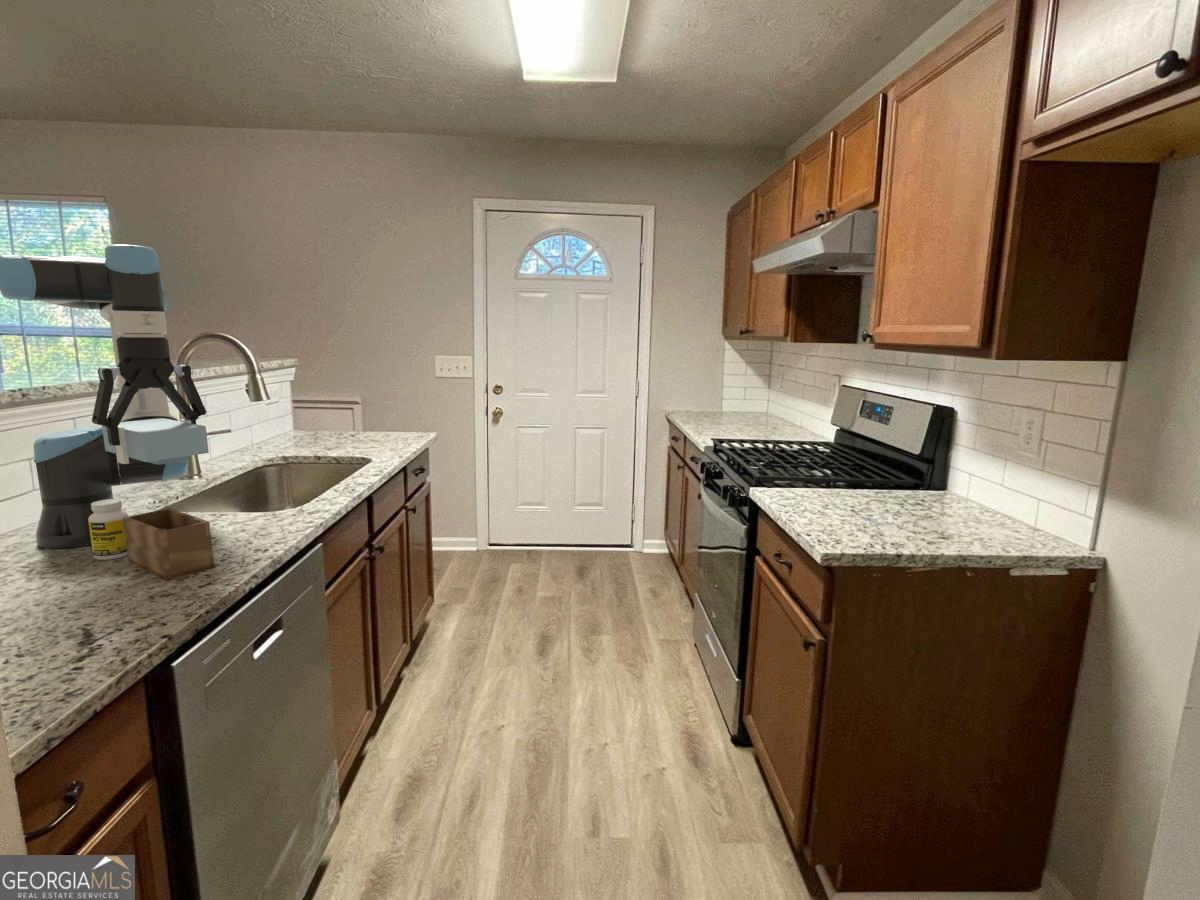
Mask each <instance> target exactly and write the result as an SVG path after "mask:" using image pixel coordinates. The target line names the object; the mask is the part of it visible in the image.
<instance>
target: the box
mask: <svg viewBox="0 0 1200 900" xmlns="http://www.w3.org/2000/svg"><path fill="white" fill-rule="evenodd" d="M123 525H124V532H125V539H126V546H127V553H128V555H127V560H128V563H129V564H131V565H133V566H135V567H137V568H140V569H142V570H144V571H146V572H147V573H150V574H152V575H154V576H157V577H159V578H160V579H163V580H165V581H167V582H169V581H171V580H175V579H179V578H182V577H186V576H189V575H191V574H196V573H199V572H202V571H205V570H209V569H213V568H215V560H214V559H215V558H214V552H213V541H212V534H211V525H210V521H208V520H206V519H203V518H199V517H197V516H194V515H191V514H188V513H185V512H184V511H183V512H182V511H179V510H177V509H173V508H170V507H169V508H168V507H167V508H163V509H159V510H154V511H148V512H144V513H139V514H133V515H128V517H123Z"/></svg>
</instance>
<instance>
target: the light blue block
mask: <svg viewBox="0 0 1200 900" xmlns="http://www.w3.org/2000/svg"><path fill="white" fill-rule="evenodd" d="M118 426H121V427H124V428H125V436H126V444H127V451H128V457H130V458H133V459H137V460H141V461H144V462H150V463H153V464H157V465H160V464H167V463H173V462H180V461H186V460H188V461H189V460H190V459H189V456H197V455H204V454H209V453H210V451H209V442H208V434H207V426H206V425H203V424H197V423H196V424H192V423H186V422H181V421H180V420H178V421H176V420H171V419H165V418H158V419H148V420H138V421H128V422H120V424H119V425H118ZM101 427H102V430H103V437H104V444H105V451H108V452H112V453H116V446H113V445H110V444H109V441H108V434H107V428H106V427H105V426H102V425H101ZM116 454H117V453H116Z"/></svg>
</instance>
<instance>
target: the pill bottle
mask: <svg viewBox="0 0 1200 900" xmlns="http://www.w3.org/2000/svg"><path fill="white" fill-rule="evenodd" d="M122 508H123V503H122V499H120V498H119V499H118V498H114V499H106V500H100V501H95V502H93V503H91V509H92V511H93V512H94V513H93V514H92V515H90V517H89V519H88V522H89V529H90V537H91V544H90V545H91V549H92V556H93V559H95V560H100V561H106V560H107V561H109V560H115V559H120V558H124V557H127V556H128V553H127V546H126V539H125V532H124V525H123V517H128V516H129V514H128V513H127V511H125V510H124V509H122Z"/></svg>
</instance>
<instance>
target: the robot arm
mask: <svg viewBox="0 0 1200 900" xmlns="http://www.w3.org/2000/svg"><path fill="white" fill-rule="evenodd" d="M0 293H1V295H2V297H4V298H5V299H8V300H19V301H24V302H25V301H26V302H27V301H28V302H29V301H30V302H31V301H32V302H33V301H38V302H39V301H40V302H43V303H46V304H49V305H56V306H60V307H61V306H62V307H66V308H70V309H71V308H74V309H80V310H81V309H82V310H98V311H99V315H100V316H101V318H102V319H104V320H105V321H107V322H108V323H109V325H110V327H109V328H110V332H111V341H112V346H113V353H114V361H115V362H114V363H115V367H99V368H98V369H97V374H98V378H99V384H98V387H97V394H96V399H95V403H94V408H93V412H92V418H91V422H92V423H93V424H94V425H96V426H84V427H78V428H72V429H67V430H61V431H57V432H52V433H49V434H46V435H43V436H40V437H39V438H37V439H36V440H35V441H34V442H33V445H32V446H33V457H34V459H33V463H34V464H35V468H36V473H37V481H38V485H39V486H38V487H39V492H40V493H39V495H40V498H41V504H42V505H41V507H42V508H41V512H40V516H39V520H38V524H37V528H36V532H35V539H36V545H37V546H38V547H40V548H43V549H44V548H46V549H66V548H75V547H76V548H77V547H78V548H79V547H83V546H90V545H92V544H91V537H90V529H89V522H88V519H89V517H90V515H92V514H93V513H94V512H93V511H92V509H91V503H93V502H95V501H100V500H106V499H115V498H114V494H113V487H115V486H116V487H117V486H125V485H132V484H133V485H134V484H141V483H143V484H144V483H151V482H159V481H161V482H166V481H167V480H174V479H175V480H176V479H180V478H183V477H184V476H186V475H187V473H188V466H189V460H186V461H180V462H173V463H167V464H160V465H157V464H153V463H150V462H144V461H141V460H137V459H133V458H130V457H128V451H127V444H126V436H125V428H124V427H121V426H118V425H119V424H120V422H128V421H138V420H148V419H158V418H165V419H171V420H176V421H181V422H186V423H192V424H197V420H198V419H199V417H201V416H205V415H206V414H207V410H206V407H205V405H204V403H203V401H202V398H201V396H200V394H199V392H198V390H197V389H198V388H197V387H196V384H195V383H194V380H193V378H192V367H191V366H190V365H189V364H179V365H174V364H173V363H172V361H171V353H170V346H169V339H168V338H167V337H164V335H166V334H168V329H167V328H168V327H167V320H166V312H165V311H167V310H168V299H167V297H168V296H167V294H166V289H165V285H164V281H163V279H162V276H161V265H160V262H159V257H158V253H157V251H156V250H155V249H154V248H152V247H150V246H145V245H144V246H143V245H133V244H109V245H107V246H106V247H105V248H104V257H90V256H89V257H87V256H86V257H85V256H79V255H78V256H75V255H74V256H73V255H71V256H70V255H69V256H68V255H67V256H66V255H65V256H56V257H55V256H53V257H51V256H39V255H38V256H35V255H24V254H0ZM173 373H174V374H175V376H176V377H178V381H179V382H180V384H181V387H182V389H183V392H184V394H185V395H186V398H187V400H188V403H189V404H188V403H187V401H186V400H185V399H184V397H183V396H182V395H181V394H180V392H179V391H178V390H177V389H176V386H175V385H174V384H173V382H172V381H171V380H170V377H171V376H172V374H173ZM116 380H117V383H118V387H119V388H118V389H119V395H118V397H117V398H116V400H115V402H114V404H113V406H112V408H111V410H110V412H109V409H110V406H111V405H110V404H111V400H112V395H113V389H114V384H115V383H114V381H116ZM168 398H169V399H168ZM168 400H170V402H171V403H172V404H173V405H174V407H175V408H176V409H177V410H178V411H179V412H180V414H181V415H182V416H183V417H184V418H182V419H178V418H177V417H176V416H173V415H172V414H170V407H169V402H168ZM190 406H191V407H190ZM108 412H109V413H108ZM97 425H98V426H97ZM102 426H105V427H106V428H107V434H108V441H109V444H110V445H113V446H116V453H117V454H116V453H112V452H108V451H105V444H104V437H103V430H102Z"/></svg>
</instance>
